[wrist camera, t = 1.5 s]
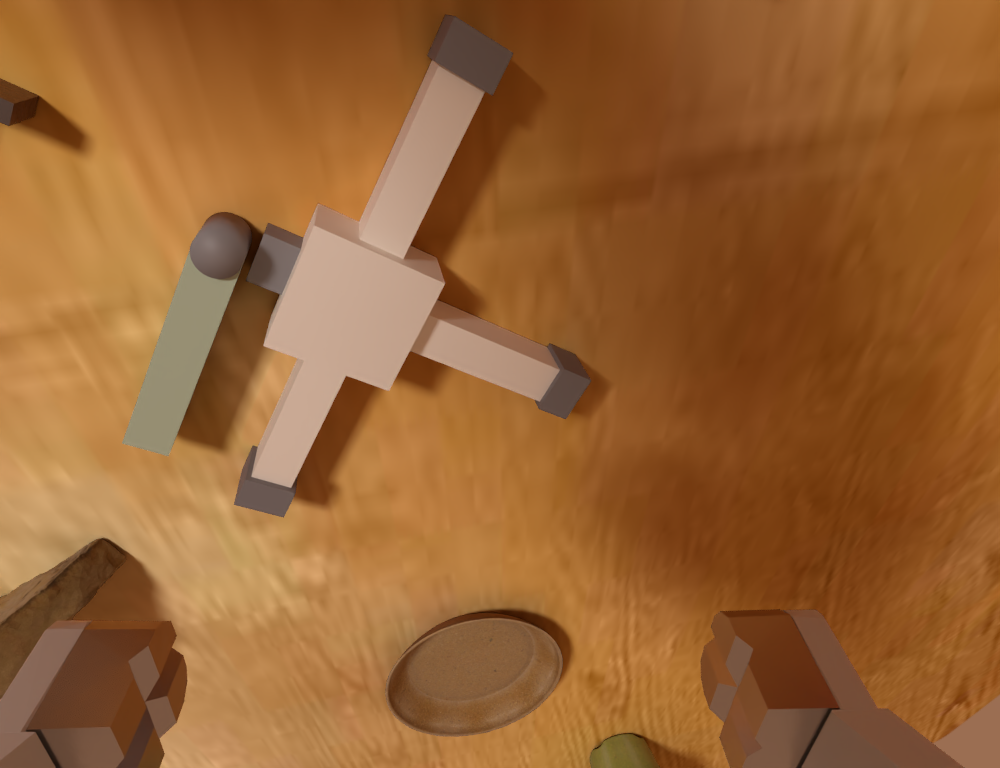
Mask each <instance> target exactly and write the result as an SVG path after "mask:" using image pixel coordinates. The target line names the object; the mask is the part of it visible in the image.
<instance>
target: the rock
mask: <svg viewBox="0 0 1000 768" xmlns="http://www.w3.org/2000/svg"><path fill="white" fill-rule="evenodd" d="M125 560H126V557H125V556H124V555H123V554H122V553H120V552H119V551H118V550H116V549H115V548H114V547H113V546H112V545H111V544H110V543H109V542H107V541H105V540H104V539H96V540H95V541H93V542H91V543H89V544H88V545H86V546H85V547H83V548H82V549H81V550H79V551H78V552H77V553H75V554H74V555H72V556H71V557H69V558H68V559H66V560H64V561H63V562H61V563H60V564H58V565H57V566H56V567H54V568H52V569H51V570H49V571H47V572H46V573H43V574H40V575H38V576H36V577H34V578H33V579H31V580H30V581H28V582H26V583H23V584H21V585H20V586H19V587H18V588H16V589H15V590H13V591H12V592H11V593H9V594H8V595H5V596H2V597H0V699H1V698H2V697H3V695H4V694H5V692H6V691H7V689H8V688H9V686H10V684H11V683H12V681H13V680H14V678H15V677H16V675H17V674H18V672H19V670H20V669H21V667H22V666H23V664H24V663H25V661H26V659H27V658H28V656H29V655H30V653H31V652H32V650H33V649H34V647H35V645H36V644H37V642H38V641H39V639H40V638H41V636H42V634H43V633H44V631H45V630H46V629H48V628H49V627H50V626H51V625H52V624H54V623H55V622H56V621H69V620H72V619H73V618H74V616H75V614H76V613H77V612H79V611H80V610H81V609H82V608H83V607H84V606H85V605H86V604H88V602H89V601H90V600H91V599H92V598H93V597H94V595H95V594H96V592H97V590H98V589H99V588H100V587H101V586H102V585H103V584H104V583H105V582H106V581H107V579H108V578H110V577H111V576H112V575H113V573H114V572H115V570H116V569H117V568H119V567H120V566H121V565H122V564H123V563H124V562H125Z"/></svg>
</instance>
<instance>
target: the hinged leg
mask: <svg viewBox="0 0 1000 768" xmlns="http://www.w3.org/2000/svg"><path fill="white" fill-rule="evenodd" d="M251 243H252V233H251V230H250V227H249V226H248V224H247V223H246V222H245V221H244V220H243V219H242V218H241V217H239V216H237V215H235V214H232V213H228V212H220V213H216V214H214V215H212V216H210V217H209V218H208V219H207V220H206V222H205V223H204V225H203V226H202V228H201V230H200V231H199V233H198V234H197V236H196V237H195V239H194V240H193V242H192V244H191V246H190V251H189V254H188V256H187V259H186V262H185V265H184V268H183V271H182V274H181V276H180V279H179V282H178V285H177V288H176V291H175V294H174V296H173V299H172V302H171V305H170V308H169V311H168V314H167V316H166V319H165V322H164V325H163V328H162V331H161V334H160V336H159V339H158V342H157V345H156V348H155V351H154V354H153V357H152V359H151V362H150V365H149V368H148V371H147V374H146V377H145V379H144V382H143V385H142V388H141V391H140V394H139V397H138V399H137V402H136V405H135V408H134V411H133V414H132V417H131V419H130V422H129V425H128V428H127V431H126V434H125V437H124V439H123V442H122V443H123V444H126V445H130V446H134V447H137V448H141V449H144V450H148V451H152V452H155V453H159V454H162V455H166V456H169V454H170V451H171V449H172V446H173V444H174V441H175V439H176V436H177V434H178V431H179V429H180V426H181V424H182V421H183V419H184V416H185V413H186V411H187V408H188V406H189V403H190V400H191V398H192V395H193V393H194V390H195V388H196V385H197V382H198V380H199V377H200V375H201V372H202V370H203V367H204V364H205V362H206V359H207V357H208V354H209V351H210V349H211V346H212V344H213V341H214V339H215V336H216V333H217V331H218V328H219V326H220V323H221V321H222V318H223V315H224V313H225V310H226V308H227V305H228V302H229V300H230V297H231V295H232V292H233V290H234V287H235V284H236V282H237V279H238V277H239V274H240V271H241V269H242V266H243V264H244V261H245V259H246V256H247V253H248V250H249V248H250V246H251Z"/></svg>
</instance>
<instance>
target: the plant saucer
mask: <svg viewBox="0 0 1000 768" xmlns="http://www.w3.org/2000/svg"><path fill="white" fill-rule="evenodd" d="M562 667H563V658H562V654H561V650H560V648H559V646H558V645H557V643H556V641H555V640H554V639H553V638H552V637H551V636H550V635H549V634H548V633H546V632H545V631H543V630H542V629H540V628H539V627H537V626H535V625H533V624H531V623H529V622H527V621H525V620H522V619H519V618H516V617H513V616H509V615H504V614H496V613H474V614H468V615H463V616H460V617H456V618H453V619H450V620H448V621H445V622H443V623H441V624H439V625H437V626H436V627H434V628H432V629H431V630H429V631H428V632H426V633H425V634H424V635H422V636H421V637H420V638H419V639H417V640H416V641H415V642H414V643H413V644H412V645H411V646H410V647H409V648H408V649H407V650H406V651H405V652H404V653H403V655H402V656H401V657H400V658H399V660H398V661H397V662H396V664H395V665H394V667H393V668H392V670H391V672H390V674H389V676H388V679H387V683H386V692H385V693H386V700H387V704H388V706H389V709H390V711H391V712H392V713H393V715H394V716H395V717H396V718H397V719H398V720H400V721H401V722H402V723H403V724H405V725H406V726H408V727H410V728H412V729H414V730H417V731H420V732H423V733H426V734H431V735H436V736H456V737H458V736H468V735H475V734H481V733H486V732H490V731H492V730H495V729H499V728H502V727H504V726H507V725H509V724H511V723H513V722H516V721H517V720H519V719H521V718H523V717H525V716H526V715H528V714H529V713H531V712H532V711H533V710H535V709H536V708H537V707H539V706H540V705H541V704H542V703H543V702H544V701H545V700H546V699H547V698H548V696H549V695H550V694H551V693H552V692H553V690H554V688H555V687H556V685H557V683H558V681H559V679H560V676H561V672H562Z"/></svg>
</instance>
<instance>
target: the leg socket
mask: <svg viewBox="0 0 1000 768" xmlns="http://www.w3.org/2000/svg"><path fill="white" fill-rule="evenodd" d="M38 98H39V96H38V95H36V94H34V93H32V92H29V91H27V90H25V89H23V88H20V87H18V86H16V85H14V84H11V83H9V82H7V81H5V80H3V79H0V122H1V123H3V124H5V125H8V126H11V125H13V124H16V123H19V122H21V121H24V120H27V119H29V118H32V117H34V116H35V111H36V107H37V103H38Z"/></svg>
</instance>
